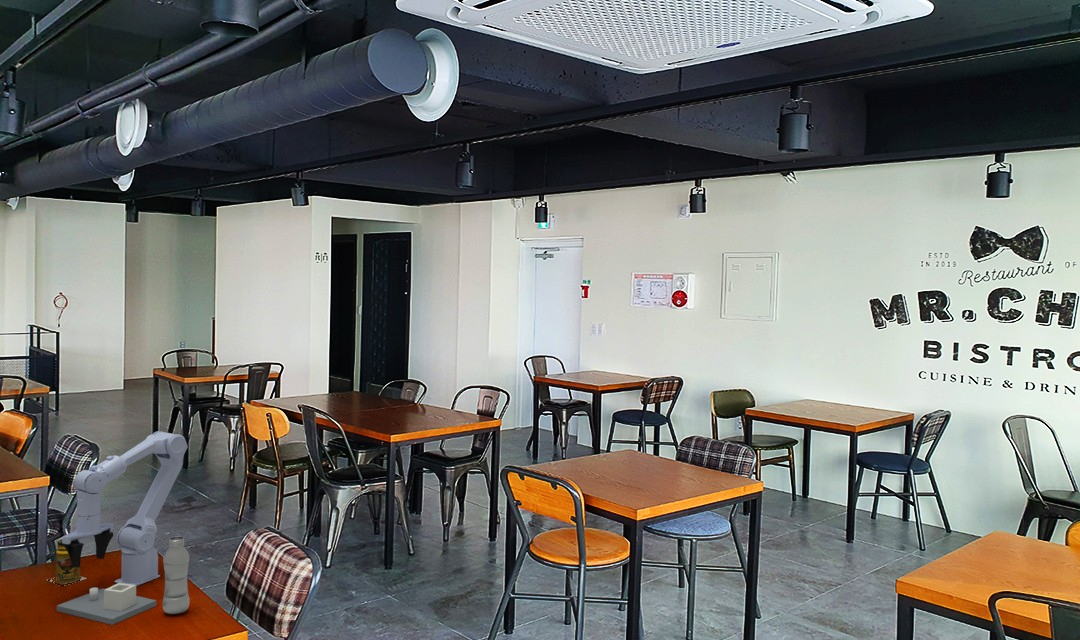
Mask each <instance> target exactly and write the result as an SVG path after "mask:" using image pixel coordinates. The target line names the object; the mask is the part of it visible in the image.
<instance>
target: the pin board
mask: <svg viewBox="0 0 1080 640" xmlns="http://www.w3.org/2000/svg"><path fill="white" fill-rule="evenodd" d="M105 589H106V588H104V587H103V588H99V587H91V588H89V593H86V594H84V595H81V596H79V597H76V598H72V599H70V600H69V601H65V602H63V603H60V604H57V605H56V612H59V613H63V614H68V615H71V616H75V617H79V618H83V619H86V620H90V621H91V620H92V621H96V622H98V621H99V623H102V622H103V624H106V625H111V626H113V625H115V624H117V623H120V622H123V621H125V620H127V619H130V618H131V617H134V616H136V615H138V614H140V613H143V612H145V611H148V610H150V609H153V608H154V607H157V599H151V598H148V597H144V596H138V595H136V604H134V605H132V606H130V607H128V608H126V609H125V610H123V611H117V610H110V609H104V590H105Z"/></svg>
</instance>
